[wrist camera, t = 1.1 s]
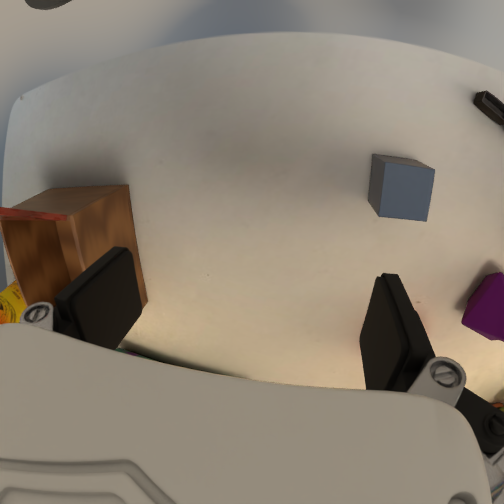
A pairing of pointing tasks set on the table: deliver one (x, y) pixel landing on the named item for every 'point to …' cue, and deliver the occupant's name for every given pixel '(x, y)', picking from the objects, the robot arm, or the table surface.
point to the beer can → (11, 304)
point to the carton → (68, 238)
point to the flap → (29, 215)
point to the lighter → (490, 106)
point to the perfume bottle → (487, 308)
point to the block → (400, 187)
